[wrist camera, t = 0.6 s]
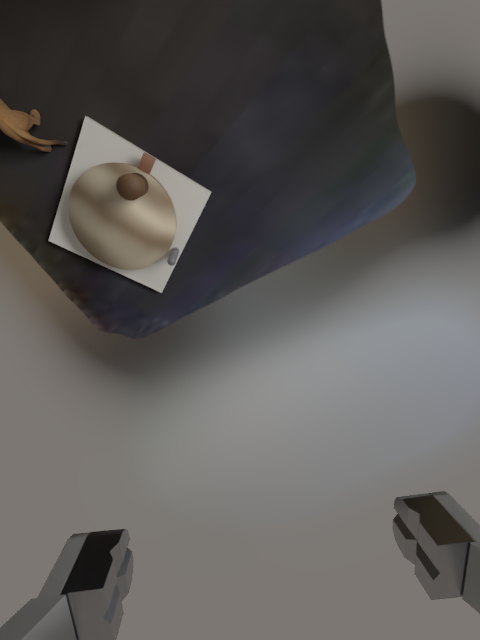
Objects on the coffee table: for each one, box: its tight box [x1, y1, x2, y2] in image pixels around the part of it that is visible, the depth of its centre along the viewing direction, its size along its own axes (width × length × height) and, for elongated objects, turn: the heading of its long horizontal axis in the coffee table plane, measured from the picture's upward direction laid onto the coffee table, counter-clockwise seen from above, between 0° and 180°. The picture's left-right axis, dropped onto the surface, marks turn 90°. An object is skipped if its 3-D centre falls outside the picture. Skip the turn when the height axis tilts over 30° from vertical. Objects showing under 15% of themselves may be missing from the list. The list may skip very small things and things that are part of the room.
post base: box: [48, 116, 211, 293], centre depth 44 cm, size 19×19×8 cm
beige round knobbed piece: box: [68, 153, 177, 270], centre depth 41 cm, size 17×15×6 cm
